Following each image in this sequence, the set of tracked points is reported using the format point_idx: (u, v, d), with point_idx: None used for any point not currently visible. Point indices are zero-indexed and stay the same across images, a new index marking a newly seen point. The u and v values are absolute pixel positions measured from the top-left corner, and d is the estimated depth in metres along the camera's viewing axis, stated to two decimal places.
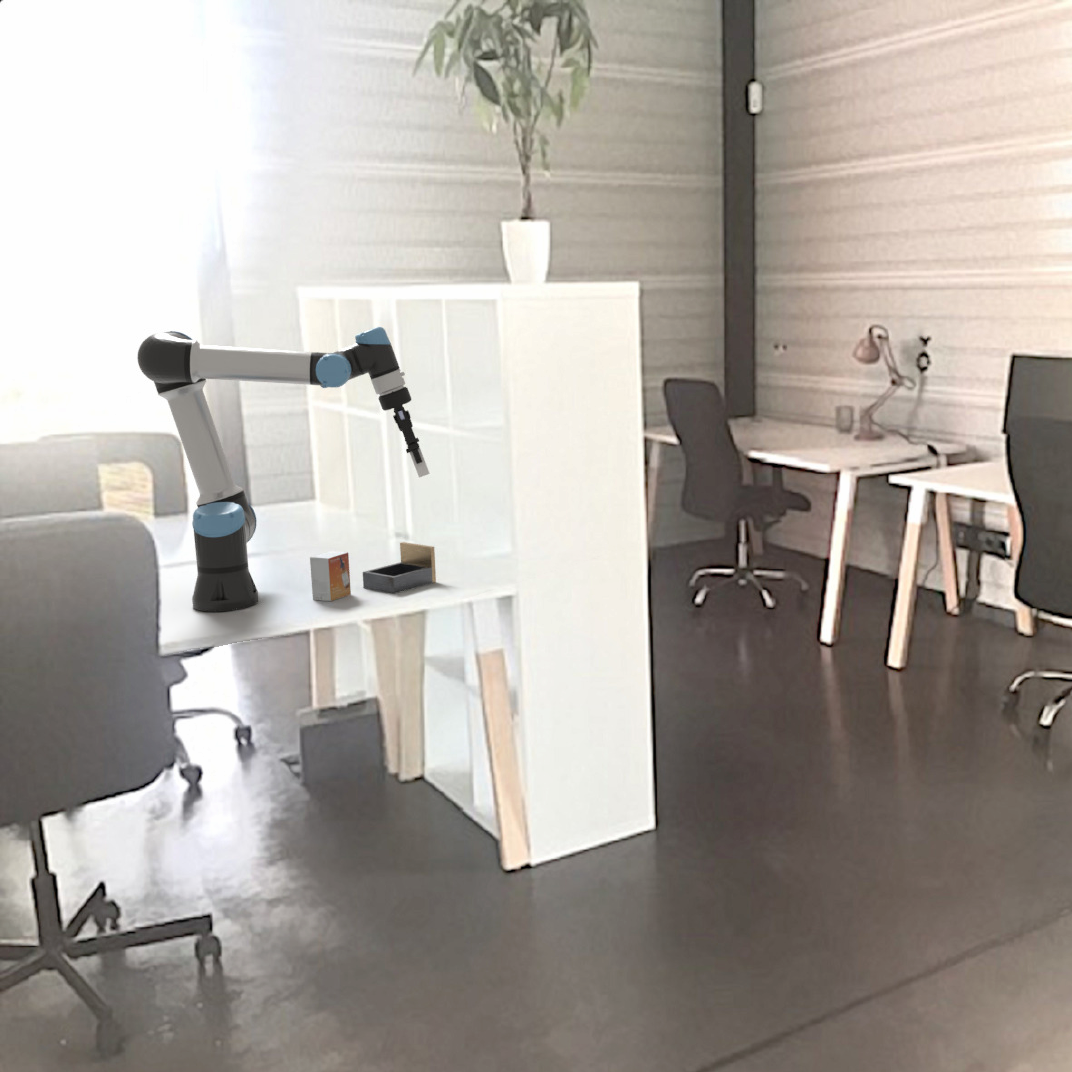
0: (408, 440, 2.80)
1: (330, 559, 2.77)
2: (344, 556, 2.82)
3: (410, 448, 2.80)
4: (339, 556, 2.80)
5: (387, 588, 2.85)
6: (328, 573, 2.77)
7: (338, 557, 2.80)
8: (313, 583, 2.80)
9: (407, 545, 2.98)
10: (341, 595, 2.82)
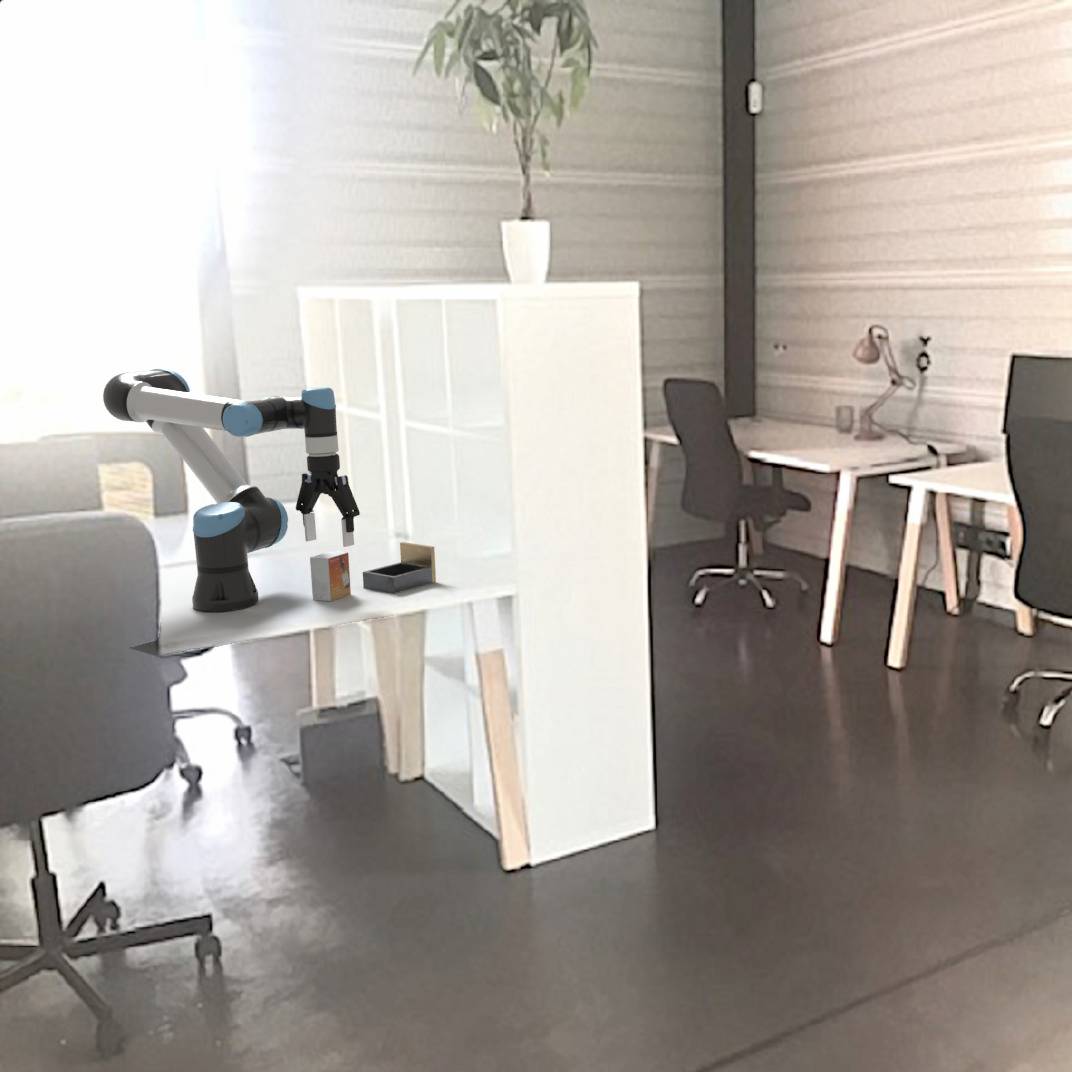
0: (351, 506, 2.72)
1: (330, 559, 2.77)
2: (344, 556, 2.82)
3: (353, 515, 2.72)
4: (339, 556, 2.80)
5: (387, 588, 2.85)
6: (328, 573, 2.77)
7: (338, 557, 2.80)
8: (313, 583, 2.80)
9: (407, 545, 2.98)
10: (341, 595, 2.82)
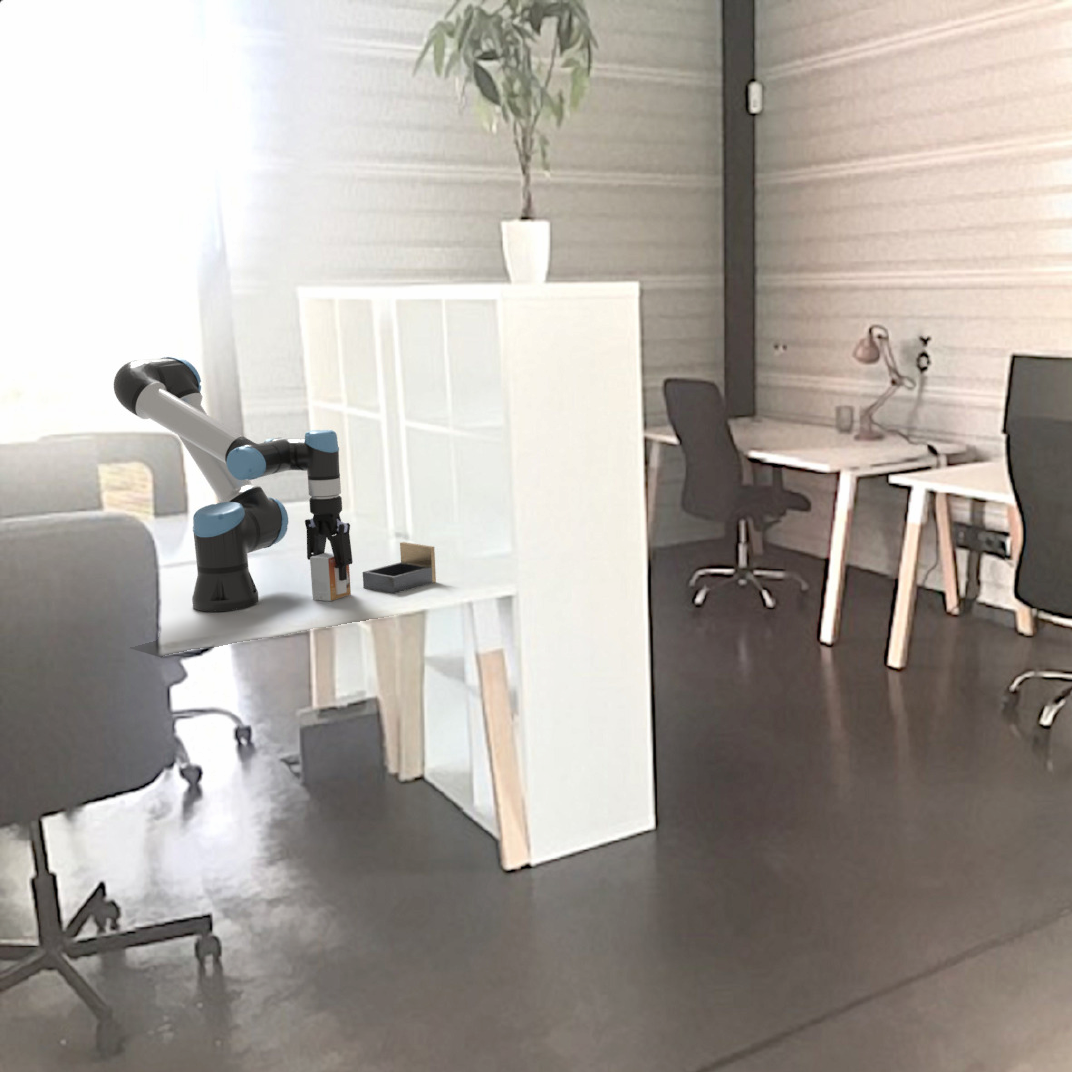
0: (346, 556, 2.76)
1: (330, 559, 2.77)
2: None
3: (345, 564, 2.77)
4: None
5: (387, 588, 2.85)
6: (328, 573, 2.77)
7: None
8: (313, 583, 2.80)
9: (407, 545, 2.98)
10: (341, 595, 2.82)
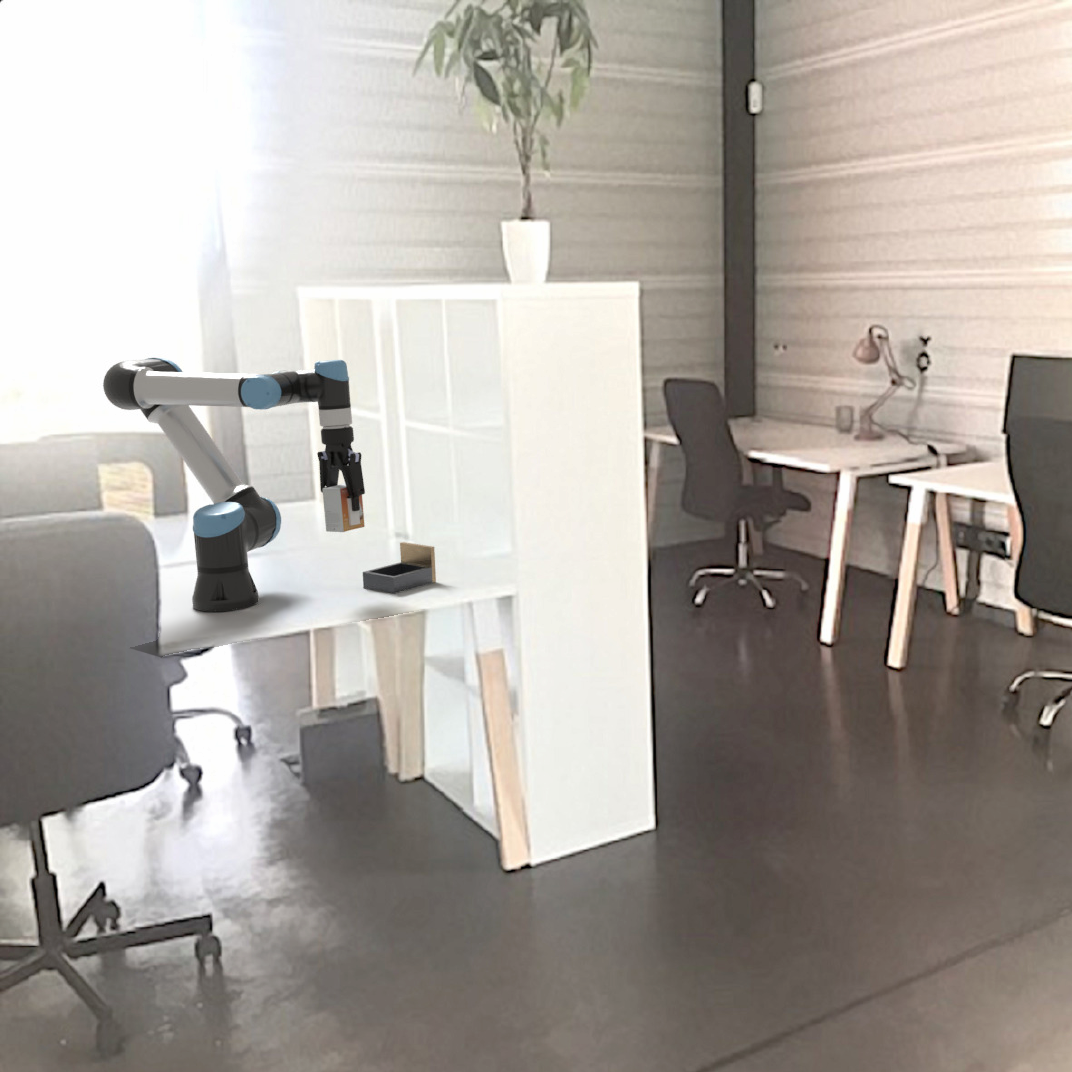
0: (357, 486, 2.75)
1: (342, 489, 2.76)
2: None
3: (357, 494, 2.75)
4: None
5: (387, 588, 2.85)
6: (340, 503, 2.76)
7: None
8: (326, 514, 2.79)
9: (407, 545, 2.98)
10: (354, 527, 2.80)
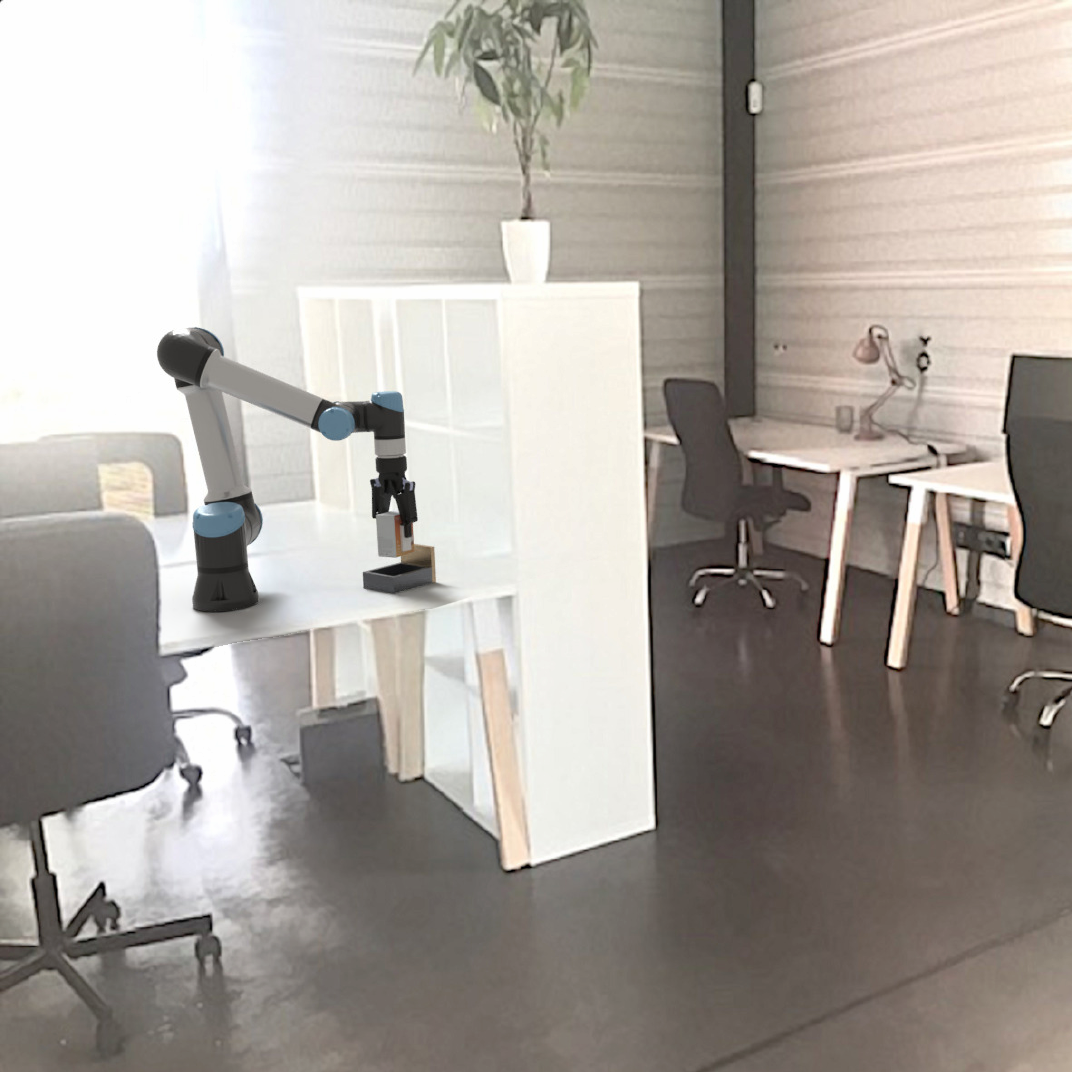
0: (411, 514, 2.84)
1: (396, 516, 2.85)
2: None
3: (411, 522, 2.85)
4: None
5: (387, 588, 2.85)
6: (394, 530, 2.85)
7: None
8: (379, 540, 2.88)
9: None
10: (406, 552, 2.90)
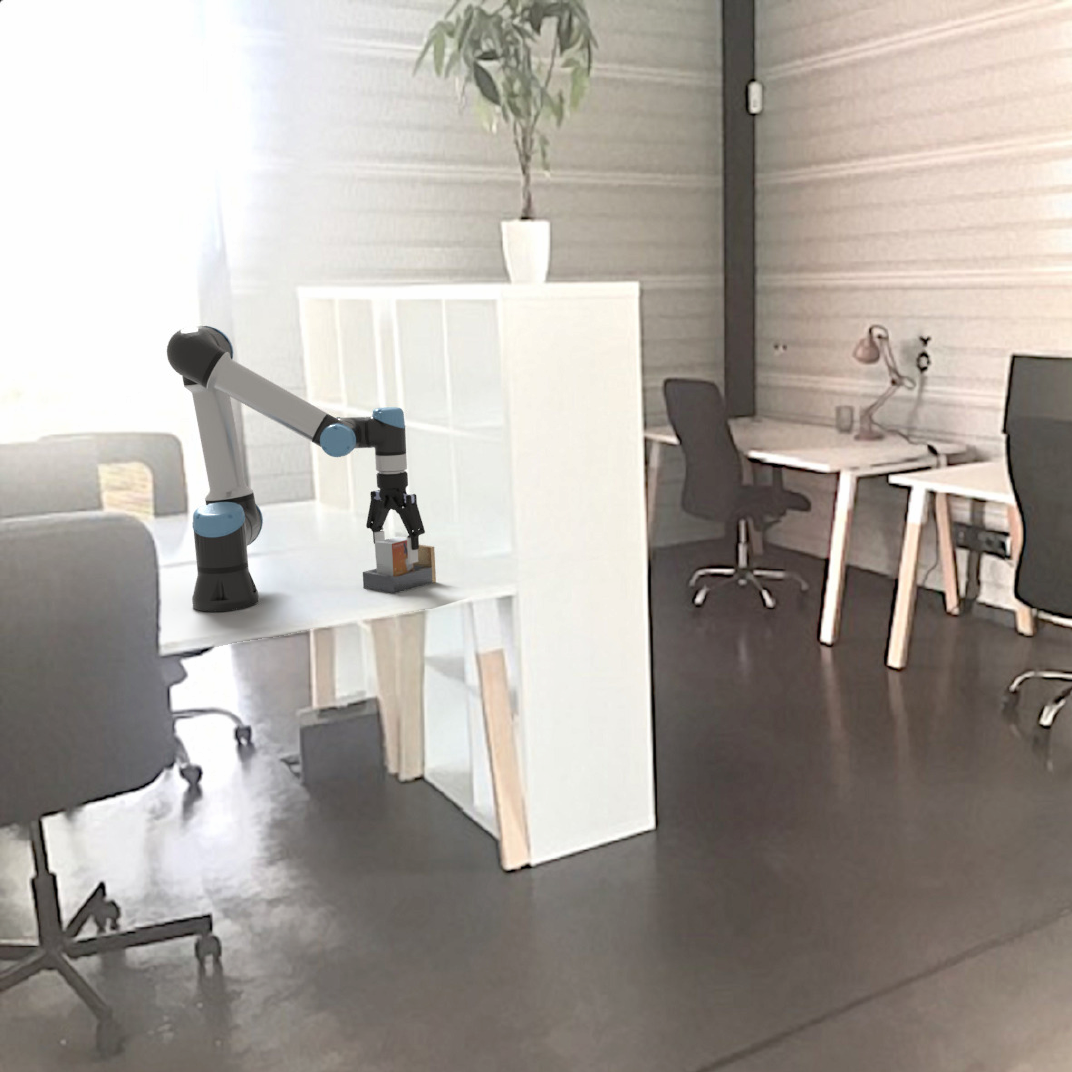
0: (417, 525, 2.84)
1: (394, 544, 2.87)
2: None
3: (418, 534, 2.84)
4: (403, 542, 2.89)
5: (387, 588, 2.85)
6: (391, 558, 2.87)
7: (402, 542, 2.89)
8: (378, 567, 2.90)
9: None
10: None
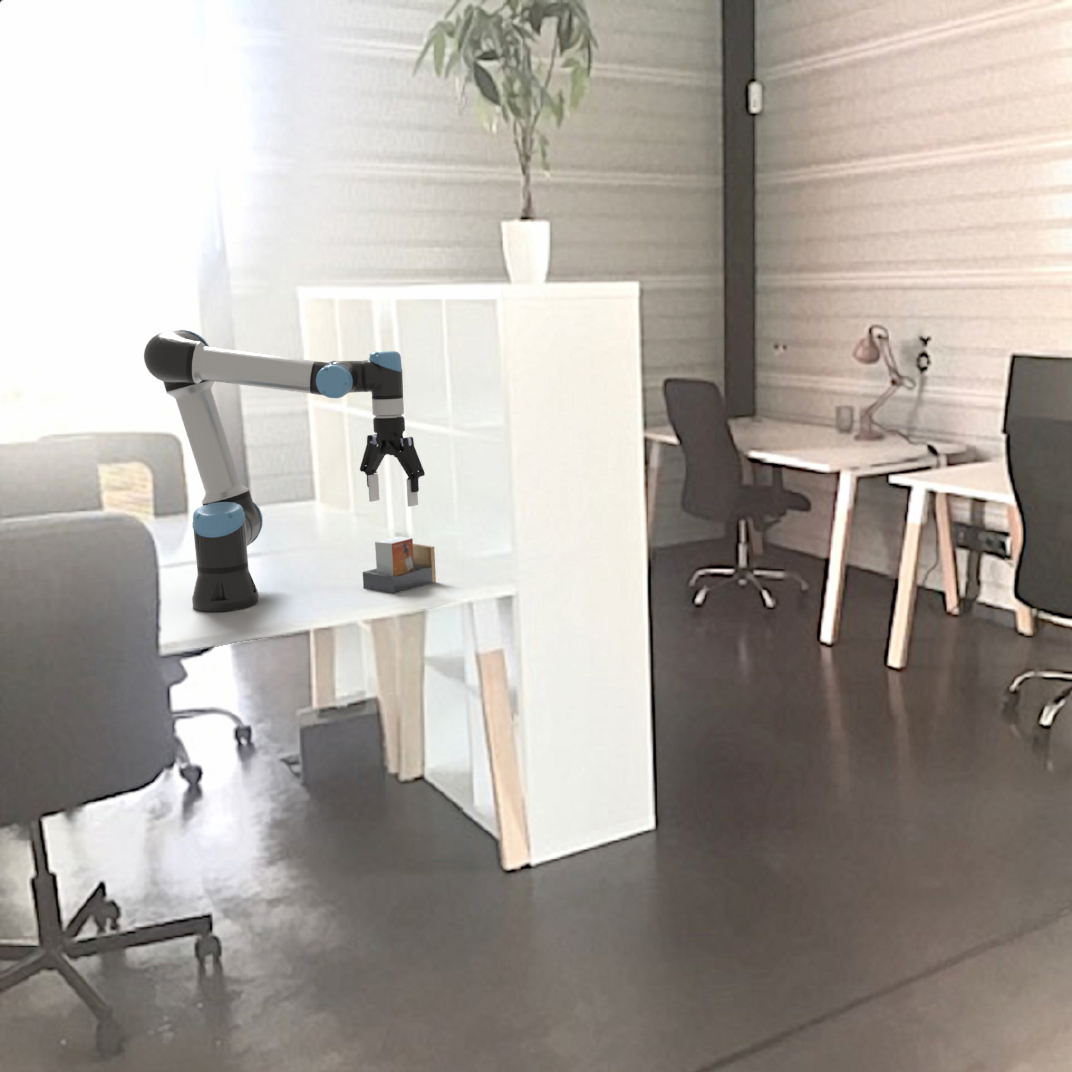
0: (416, 467, 2.80)
1: (394, 544, 2.87)
2: (408, 542, 2.91)
3: (418, 475, 2.80)
4: (403, 542, 2.89)
5: (387, 588, 2.85)
6: (391, 558, 2.87)
7: (402, 542, 2.89)
8: (378, 567, 2.90)
9: None
10: None
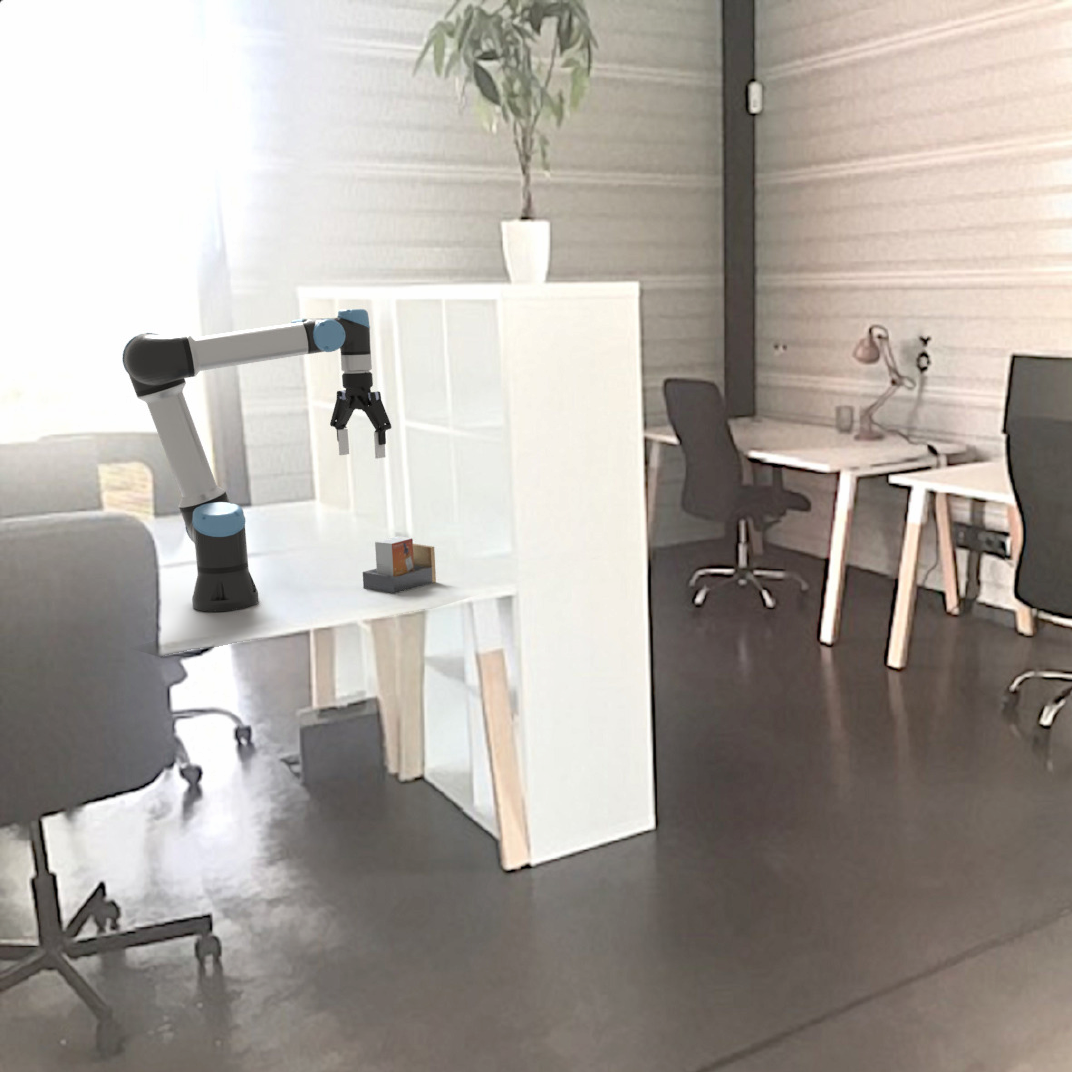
0: (383, 420, 2.92)
1: (394, 544, 2.87)
2: (408, 542, 2.91)
3: (385, 428, 2.91)
4: (403, 542, 2.89)
5: (387, 588, 2.85)
6: (391, 558, 2.87)
7: (402, 542, 2.89)
8: (378, 567, 2.90)
9: None
10: None
